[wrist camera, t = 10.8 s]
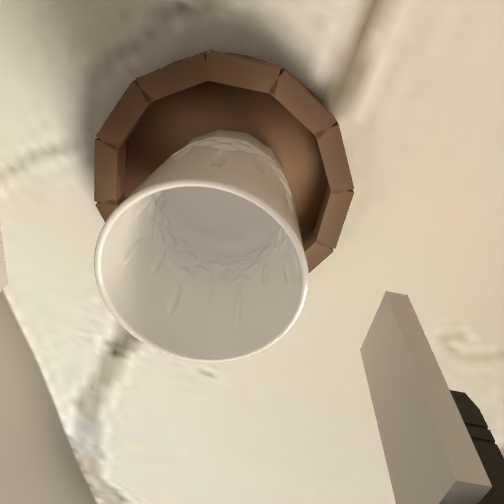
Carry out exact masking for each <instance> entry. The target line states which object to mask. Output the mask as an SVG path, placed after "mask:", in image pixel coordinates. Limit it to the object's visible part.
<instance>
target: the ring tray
mask: <svg viewBox="0 0 504 504" xmlns="http://www.w3.org/2000/svg"><path fill="white" fill-rule="evenodd" d="M218 129H223V130H230V131H237V132H245V133H248V134H250V135H252V136H253V137H255V138H256V139H258V140H259V141H261V142H262V143H264V144H265V145H267V146H268V147H270V148H271V149H272V151H273V153H274V154H275V156H276V158H277V160H278V161H279V163H280V165H281V166H282V168H283V170H284V171H285V175H286V180H287V183H288V186H289V188H290V191H291V195H292V199H293V202H294V206H295V209H296V214H297V219H298V224H299V228H300V233H301V238H302V242H303V247H304V251H305V255H306V260H307V264H308V272H309V273H310V272H311V271H312V270H313V269H314V268H315V267H316V266H318V265H319V264H320V263H321V262H322V261H323V260H324V259H326V258H327V257H328V256H329V255H330V254H331V253H332V252H333V248H334V249H335V248H336V245H337V242H338V239H339V236H340V233H341V230H342V227H343V224H344V221H345V218H346V215H347V212H348V209H349V206H350V203H351V200H352V197H353V194H354V191H353V189H354V186H353V182H352V178H351V174H350V169H349V165H348V161H347V157H346V153H345V149H344V145H343V141H342V136H341V132H340V128H339V125H338V123H337V121H336V119H335V118H334V116H333V115H332V114H331V113H330V112H329V111H328V110H327V109H326V108H325V107H324V106H323V105H322V104H321V102H320V101H319V100H318V99H317V98H316V96H315V95H314V94H313V93H312V92H311V91H310V90H309V89H308V88H307V87H306V86H305V85H304V84H302V83H301V82H300V81H299V80H298V79H296V78H295V77H294V76H292V75H291V74H290V73H289V72H288V71H287V70H286V69H285V68H283V69H281V68H280V65H276V64H271V63H268V62H266V61H263V60H260V59H256V58H253V57H249V56H245V55H238V54H231V53H220V52H215V51H209V52H207V51H205V52H203V53H200V54H198V55H195V56H193V57H189V58H186V59H183V60H180V61H177V62H174V63H172V64H170V65H168V66H166V67H164V68H162V69H159V70H157V71H154V72H152V73H149V74H146V75H144V76H141V77H139V78H136V80H135V81H132V83H131V84H130V86H129V87H128V89H127V90H126V92H125V93H124V95H123V96H122V98H121V99H120V101H119V102H118V104H117V105H116V107H115V108H114V110H113V111H112V113H111V114H110V116H109V117H108V119H107V120H106V122H105V123H104V125H103V126H102V128H101V129H100V131H99V132H98V134H97V135H96V136H97V137H98V138H97V139H95V192H94V201H96V202H98V203H97V204H96V207H97V209H98V210H99V212H100V214H101V216H102V218H103V219H104V221H105V222H106V221H107V219H108V218H109V216H110V215H111V214H112V213H113V211H114V210H115V209H116V208H117V207H118V206H119V205H120V204H121V203H122V202H123V201H124V200H125V199H126V198H127V197H129V196H130V195H131V194H132V193H133V192H134V191H135V190H136V189H137V188H138V187H139V186H140V185H141V184H142V183H143V182H144V181H145V180H146V179H147V178H148V177H149V176H150V175H151V174H152V172H153V171H155V170H156V169H157V168H158V167H159V166H160V165H162V164H163V163H164V162H165V161H166V160H167V159H168V158H170V157H171V156H172V155H173V154H174V153H176V152H177V151H179V150H180V149H182V148H183V147H185V146H186V145H187V144H188V143H189V142H190V141H191V140H192V139H193V138H194V137H197V136H200V135H203V134H206V133H209V132H212V131H215V130H218Z"/></svg>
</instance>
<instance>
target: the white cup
mask: <svg viewBox="0 0 504 504" xmlns="http://www.w3.org/2000/svg"><path fill="white" fill-rule="evenodd" d="M94 270H95V277H96V282H97V285H98V288H99V291H100V294H101V296H102V298H103V300H104V302H105V304H106V306H107V307H108V309H109V311H110V312H111V313H112V315H113V316H114V317H115V319H116V320H117V321H118V322H119V323H120V324H121V325H122V326H123V327H124V328H125V329H126V330H127V331H128V332H129V333H130V334H132V335H133V336H134V337H136V338H137V339H138V340H140V341H141V342H143V343H145V344H146V345H148V346H150V347H152V348H154V349H156V350H158V351H160V352H162V353H165V354H168V355H171V356H174V357H177V358H181V359H186V360H191V361H199V362H223V361H231V360H236V359H240V358H244V357H247V356H250V355H253V354H255V353H258V352H260V351H262V350H264V349H266V348H267V347H269V346H271V345H272V344H274V343H275V342H276V341H278V340H279V339H280V338H281V337H282V336H284V335H285V334H286V333H287V332H288V331H289V329H290V328H291V327H292V326H293V324H294V323H295V322H296V320H297V319H298V317H299V315H300V313H301V311H302V309H303V306H304V304H305V301H306V297H307V293H308V285H309V272H308V264H307V260H306V255H305V251H304V247H303V242H302V238H301V233H300V228H299V224H298V219H297V214H296V209H295V206H294V202H293V199H292V195H291V191H290V188H289V186H288V183H287V180H286V175H285V171H284V170H283V168H282V166H281V165H280V163H279V161H278V160H277V158H276V156H275V154H274V153H273V151H272V149H271V148H270V147H268V146H267V145H265V144H264V143H262V142H261V141H259V140H258V139H256V138H255V137H253V136H252V135H250V134H248V133H245V132H237V131H230V130H223V129H218V130H215V131H212V132H209V133H206V134H203V135H200V136H197V137H194V138H193V139H192V140H191V141H190V142H189V143H188V144H187V145H186V146H185V147H183V148H182V149H180V150H179V151H177V152H176V153H174V154H173V155H172V156H171V157H170V158H168V159H167V160H166V161H165V162H164V163H163V164H162V165H160V166H159V167H158V168H157V169H156V170H155V171H153V172H152V174H151V175H150V176H149V177H148V178H147V179H146V180H145V181H144V182H143V183H142V184H141V185H140V186H139V187H138V188H137V189H136V190H135V191H134V192H133V193H132V194H131V195H130V196H129V197H127V198H126V199H125V200H124V201H123V202H122V203H121V204H120V205H119V206H118V207H117V208H116V209H115V210H114V211H113V213H112V214H111V215H110V216H109V218H108V219H107V221H106V222H105V224H104V226H103V228H102V230H101V232H100V234H99V237H98V240H97V243H96V248H95V255H94Z"/></svg>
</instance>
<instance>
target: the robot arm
mask: <svg viewBox="0 0 504 504" xmlns="http://www.w3.org/2000/svg"><path fill="white" fill-rule="evenodd" d="M7 284H8V278H7V271H6V263H5V256H4V248H3V241H2V233H1V225H0V291H1V290H2V289H3V288H4V287H5V286H6V285H7ZM360 351H361V355H362V359H363V364H364V368H365V372H366V376H367V381H368V385H369V389H370V394H371V398H372V402H373V406H374V411H375V415H376V419H377V424H378V428H379V432H380V437H381V441H382V445H383V449H384V454H385V458H386V462H387V467H388V471H389V475H390V479H391V484H392V488H393V492H394V497H395V501H396V504H504V458H503V456H502V454H501V452H500V450H499V448H498V446H497V445H496V444H495V440H494V438H493V436H492V434H491V432H490V430H488V426H487V424H486V422H485V420H484V418H483V416H482V414H481V412H480V410H479V408H478V407H477V406H476V405H475V404H474V403H473V402H472V400H471V399H470V398H469V397H468V396H467V395H466V394H465V393H463V392H457V391H452V390H449V388H448V386H447V383H446V381H445V379H444V376H443V374H442V372H441V370H440V367H439V365H438V363H437V361H436V358H435V356H434V354H433V352H432V349H431V347H430V345H429V343H428V340H427V338H426V336H425V334H424V331H423V329H422V327H421V325H420V322H419V320H418V318H417V316H416V313H415V311H414V309H413V307H412V304H411V302H410V300H409V298H408V295H403V294H398V293H393V292H388V291H386V292H385V294H384V297H383V299H382V301H381V304H380V306H379V308H378V310H377V313H376V315H375V317H374V320H373V322H372V324H371V326H370V329H369V331H368V333H367V336H366V338H365V340H364V342H363V345H362V347H361V349H360Z"/></svg>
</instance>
